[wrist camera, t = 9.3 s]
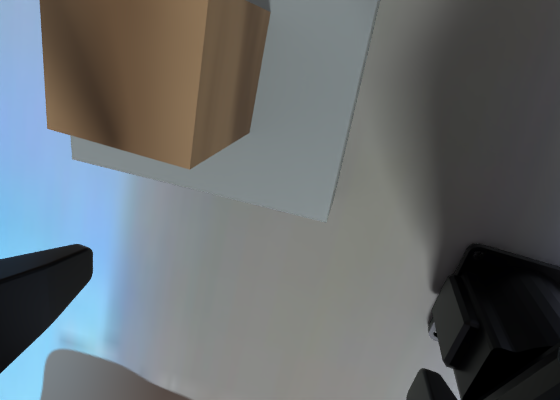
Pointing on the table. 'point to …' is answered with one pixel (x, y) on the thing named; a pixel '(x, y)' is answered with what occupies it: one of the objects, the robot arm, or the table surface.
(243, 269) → the table surface
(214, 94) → the walnut block
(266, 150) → the slate box
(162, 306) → the table surface
